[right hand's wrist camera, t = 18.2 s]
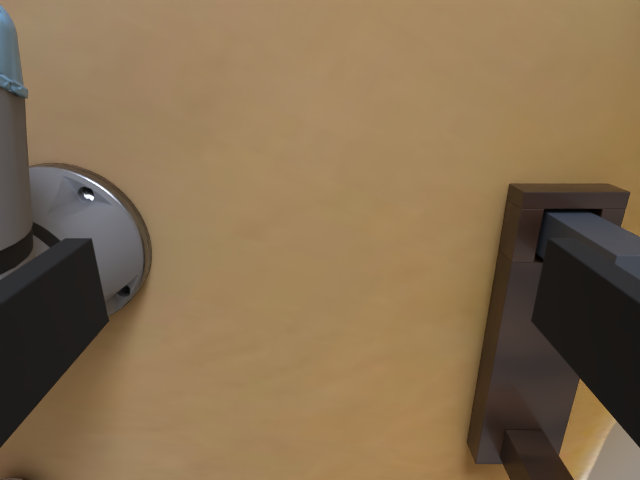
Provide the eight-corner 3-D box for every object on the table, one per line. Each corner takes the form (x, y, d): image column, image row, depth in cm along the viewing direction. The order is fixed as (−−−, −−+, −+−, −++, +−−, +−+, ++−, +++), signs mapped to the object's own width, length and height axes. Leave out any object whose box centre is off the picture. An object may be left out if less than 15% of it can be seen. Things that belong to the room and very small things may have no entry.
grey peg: (566, 244, 41) (659, 308, 30) (524, 244, 41) (602, 308, 30) (575, 204, 39) (677, 255, 28) (532, 204, 39) (617, 255, 28)
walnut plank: (543, 442, 50) (594, 526, 41) (466, 442, 50) (500, 526, 41) (608, 183, 39) (699, 217, 29) (509, 183, 39) (569, 218, 29)
